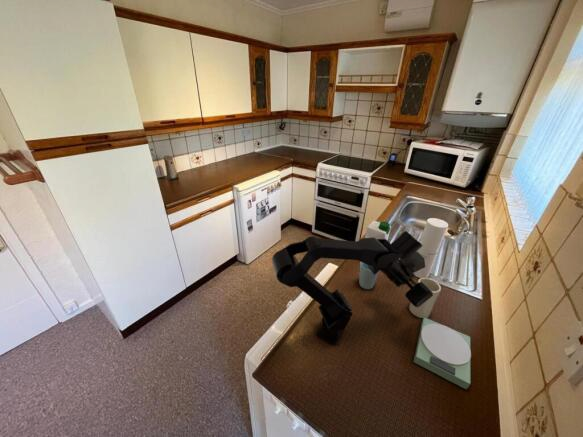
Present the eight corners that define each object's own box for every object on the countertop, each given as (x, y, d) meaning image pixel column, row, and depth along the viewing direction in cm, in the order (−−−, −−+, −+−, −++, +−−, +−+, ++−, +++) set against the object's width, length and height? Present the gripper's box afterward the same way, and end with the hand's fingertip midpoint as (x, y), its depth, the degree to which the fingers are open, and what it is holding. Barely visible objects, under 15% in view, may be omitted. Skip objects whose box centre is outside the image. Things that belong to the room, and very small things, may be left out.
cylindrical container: (430, 279, 99) (451, 228, 87) (412, 276, 100) (430, 226, 88) (426, 268, 105) (444, 219, 93) (408, 266, 106) (424, 217, 94)
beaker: (428, 321, 81) (439, 295, 75) (407, 312, 84) (416, 286, 78) (430, 308, 86) (441, 282, 80) (410, 300, 89) (419, 275, 83)
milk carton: (377, 268, 105) (386, 230, 95) (358, 260, 110) (365, 222, 100) (384, 259, 111) (394, 221, 101) (366, 251, 116) (373, 215, 106)
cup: (378, 291, 93) (383, 271, 88) (358, 291, 93) (362, 270, 88) (373, 278, 99) (377, 258, 94) (354, 277, 100) (358, 257, 95)
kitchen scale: (466, 389, 63) (471, 382, 61) (413, 362, 69) (416, 355, 68) (466, 342, 75) (471, 335, 73) (421, 322, 81) (424, 315, 79)
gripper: (438, 269, 60) (457, 292, 68) (392, 231, 76) (412, 254, 84) (404, 297, 62) (427, 317, 70) (366, 255, 78) (388, 274, 86)
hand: (413, 287), depth 78 cm, fingers open, 9 cm apart
